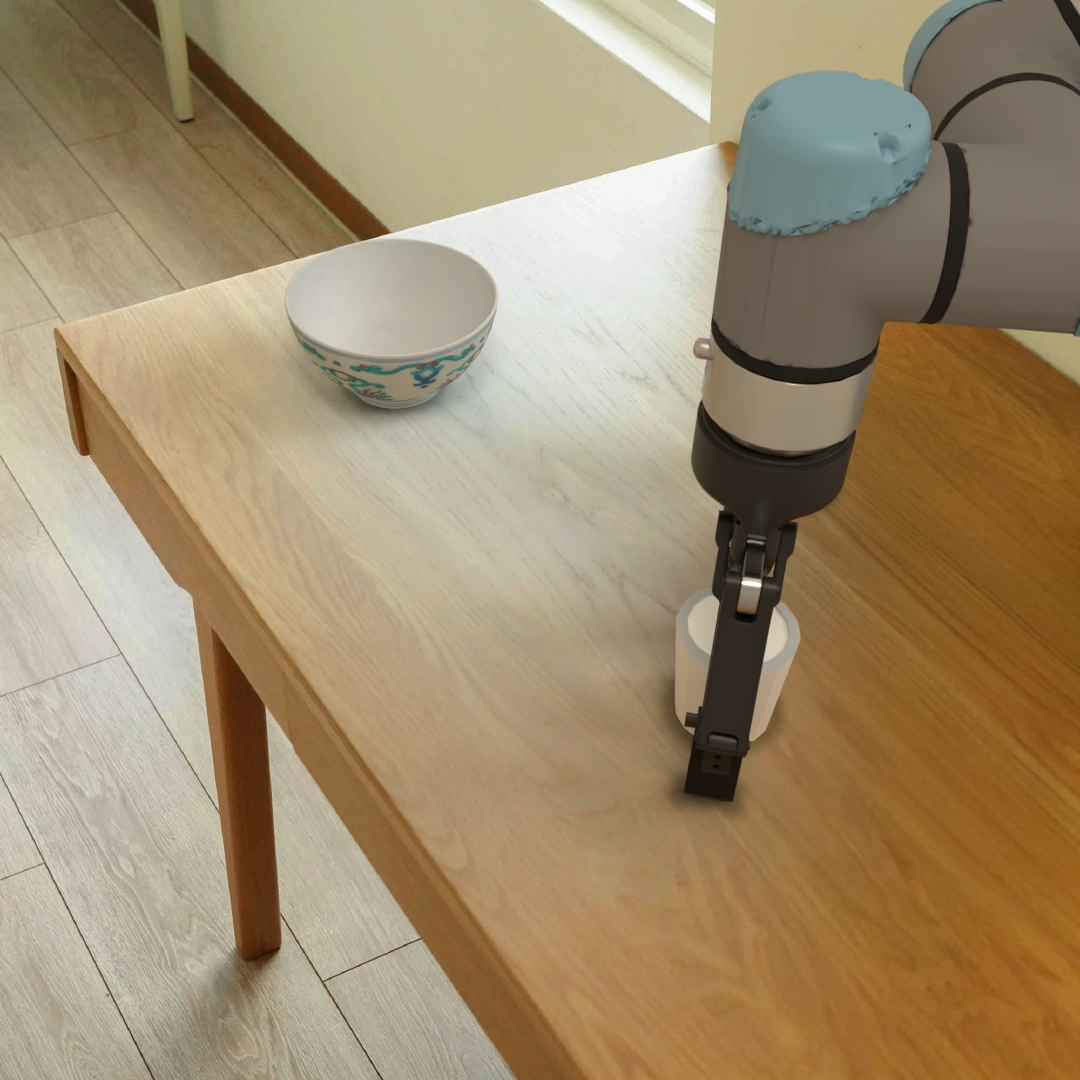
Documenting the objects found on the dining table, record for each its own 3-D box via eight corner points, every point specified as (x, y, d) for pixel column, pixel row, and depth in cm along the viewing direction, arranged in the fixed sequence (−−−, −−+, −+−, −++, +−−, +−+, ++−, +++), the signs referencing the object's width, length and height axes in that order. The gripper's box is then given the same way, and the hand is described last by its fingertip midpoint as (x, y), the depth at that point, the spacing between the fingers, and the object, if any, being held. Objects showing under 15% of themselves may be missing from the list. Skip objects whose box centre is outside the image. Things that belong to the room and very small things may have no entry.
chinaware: (255, 373, 101) (243, 285, 96) (414, 302, 108) (411, 217, 103) (375, 474, 93) (369, 383, 88) (538, 390, 100) (541, 302, 95)
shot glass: (801, 698, 79) (822, 616, 75) (747, 775, 75) (765, 694, 70) (700, 647, 82) (713, 565, 77) (641, 719, 78) (652, 637, 73)
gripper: (724, 266, 73) (681, 555, 87) (666, 572, 55) (625, 867, 70) (864, 285, 72) (797, 574, 87) (850, 602, 54) (769, 895, 69)
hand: (720, 705), depth 78 cm, fingers open, 12 cm apart
